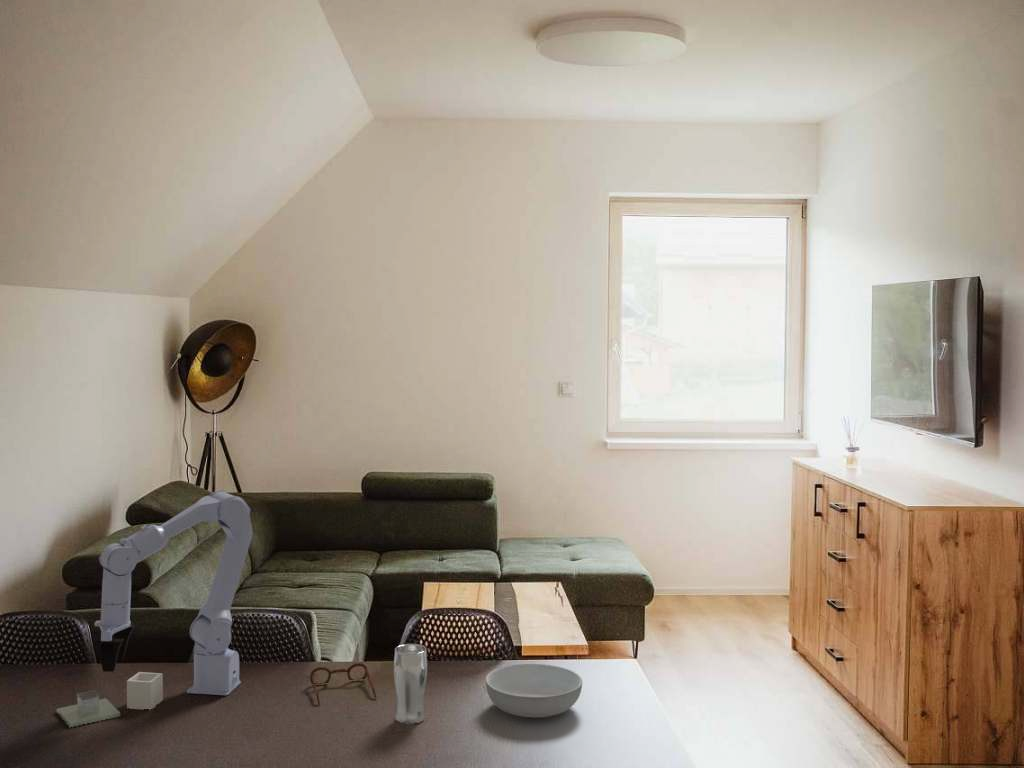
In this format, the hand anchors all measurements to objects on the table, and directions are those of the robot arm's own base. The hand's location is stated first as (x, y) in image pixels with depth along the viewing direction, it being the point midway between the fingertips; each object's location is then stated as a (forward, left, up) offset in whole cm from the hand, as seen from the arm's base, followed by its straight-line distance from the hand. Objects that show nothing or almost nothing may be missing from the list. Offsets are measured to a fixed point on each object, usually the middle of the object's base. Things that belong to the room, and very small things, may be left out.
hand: (113, 665), depth 214 cm
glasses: (-45, -17, -10) cm, 49 cm away
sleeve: (-5, -4, -10) cm, 12 cm away
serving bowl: (-88, -14, -10) cm, 90 cm away
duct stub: (+4, +3, -10) cm, 11 cm away
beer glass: (-63, -5, -10) cm, 64 cm away
